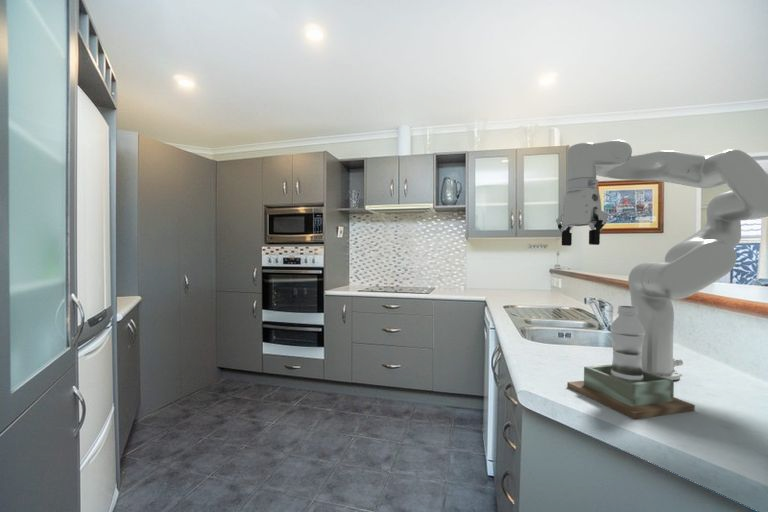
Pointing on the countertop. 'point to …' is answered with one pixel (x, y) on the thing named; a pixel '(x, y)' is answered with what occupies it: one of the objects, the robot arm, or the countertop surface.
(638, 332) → the plastic bottle
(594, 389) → the green open box
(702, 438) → the countertop surface
